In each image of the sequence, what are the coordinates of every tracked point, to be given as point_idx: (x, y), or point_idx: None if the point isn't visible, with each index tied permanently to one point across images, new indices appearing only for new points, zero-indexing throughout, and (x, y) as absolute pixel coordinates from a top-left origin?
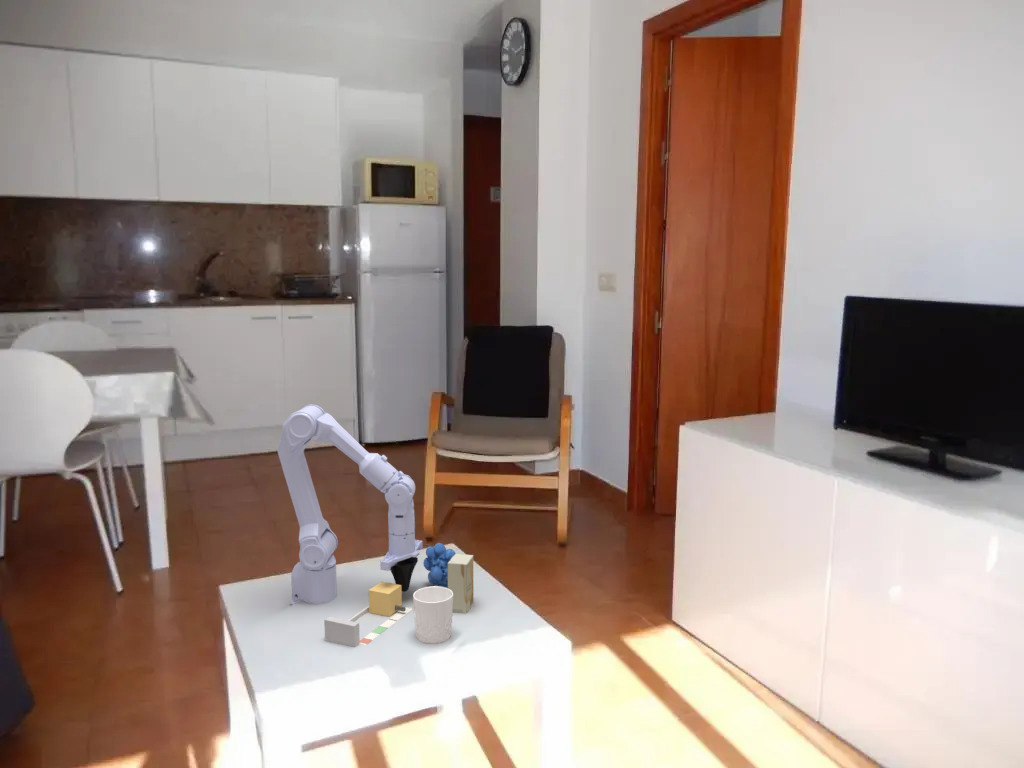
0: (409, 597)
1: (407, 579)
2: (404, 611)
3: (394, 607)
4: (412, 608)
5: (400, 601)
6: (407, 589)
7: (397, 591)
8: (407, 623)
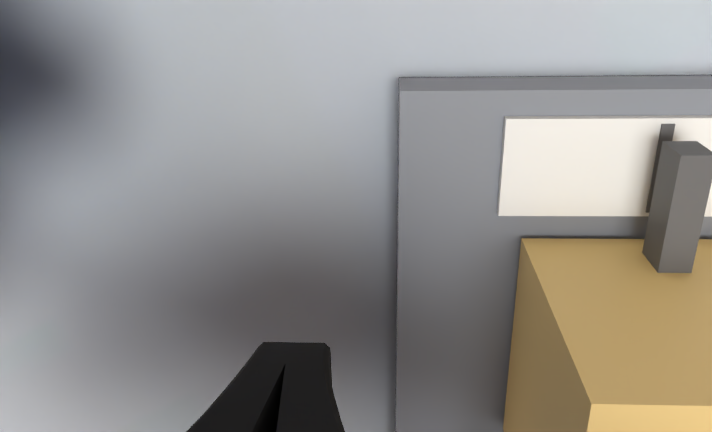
0: (179, 312)
1: (303, 430)
2: (609, 164)
3: (693, 267)
4: (508, 124)
5: (562, 276)
6: (285, 347)
7: (696, 369)
8: (705, 48)
